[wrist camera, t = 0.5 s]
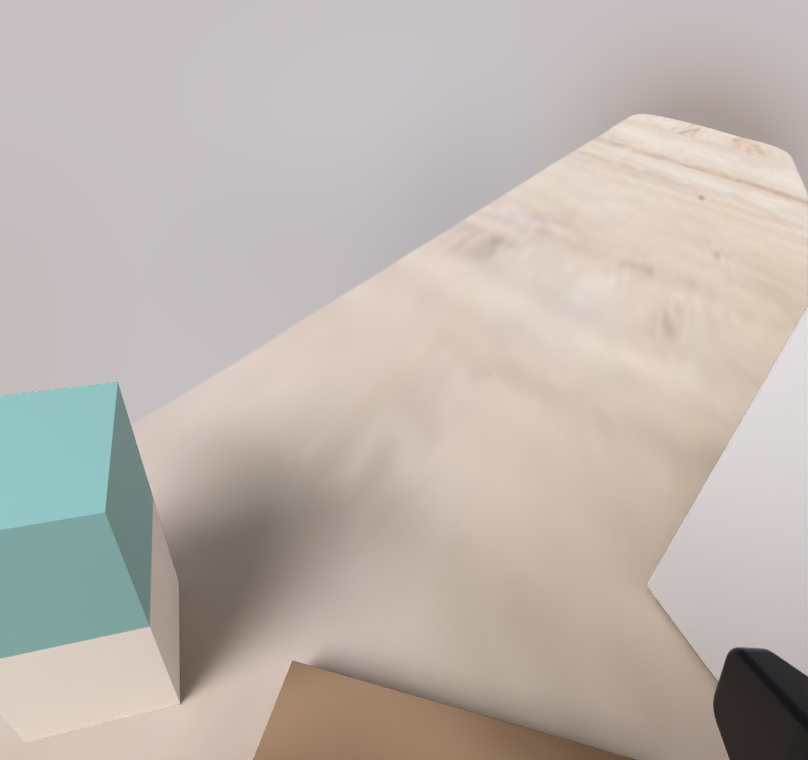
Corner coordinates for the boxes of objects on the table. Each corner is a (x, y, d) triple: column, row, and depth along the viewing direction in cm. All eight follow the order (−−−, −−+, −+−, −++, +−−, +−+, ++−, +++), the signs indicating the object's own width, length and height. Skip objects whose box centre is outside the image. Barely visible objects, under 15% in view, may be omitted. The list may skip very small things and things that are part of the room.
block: (180, 704, 22) (104, 512, 15) (25, 742, 21) (-137, 552, 14) (178, 582, 26) (117, 381, 19) (46, 609, 25) (-73, 404, 17)
